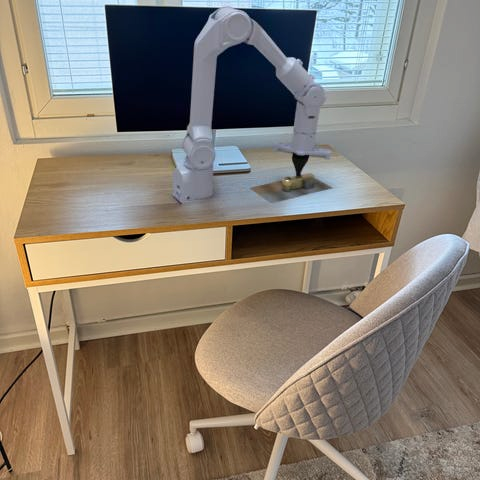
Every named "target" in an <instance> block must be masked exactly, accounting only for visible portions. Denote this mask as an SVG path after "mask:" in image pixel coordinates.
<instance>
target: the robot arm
mask: <svg viewBox="0 0 480 480" xmlns="http://www.w3.org/2000/svg"><path fill="white" fill-rule="evenodd" d="M241 43H245V44H247V45H250V46H251V45H252V46H254V48H256V49H257V50H258V51H259V52H260V54H262V55H263V56H264V57H265V58H266V59H267V60H268V62H270V63H271V64H272V65H273V66H274V67H275V76H276V77H277V79H278V80H279V81H280V82H281V83H282V85H284V86H285V87H286V88H287V90H289V92H291V94H292V95H293V97H294V99H295V100H297V101H296V108H295V114H294V115H295V117H294V124H293V131H292V140H291V142H287V143H286V142H275V143H274V144H273V153H286V154H292V155H291V161H292V164H293V167H294V170H295V176H298V175H302V171H303V169H304V168H305V165H306V164H307V163H308V161H309V160H310V157H312V158H313V157H314V158H319V159H325V161H326V160H327V161H329V160H330V159H331V154H332V150H330V149H325V148H322V147H318V146H315V142H316V137H317V128H318V122H319V115H320V110H321V108H322V106H323V105H324V104H325V102H326V101H327V96H326V93H325V89H324V88H323V86H322V85H321V84H319V83H317V82H315V78H316V77H315V76H314V74H309V72H308V71H307V70H306V69H305V68H304V67H303V64H304V63H303V61H302V60H301V59H299V58H297V59H296V58H295V57H293V56H292V57H287V55H285V54H284V53H283V51H282V50H281V49H280V48H279V47H278V46H277V44H276V43H275V42H274V40H273V39H272V38H271V37H270V36H269V35H268V34H267V32H266V31H265V30H264V29H263V27H262V26H261V25H260V24H259V23H258V22H256V21H255V20H254V19H252V18H251V17H250V16H249V14H247V12H246V11H243V10H240V9H236V8H234V7H232V6H228V5H225V6H221V7H219V8H218V9H216V10H215V11H214V12H213V13H211V14H210V15H209V17H208V20H207V22H206V23H205V25H204V26H203V28H202V30H201V31H200V33H199V34H198V35H197V37H196V39H195V41H194V46H193V62H192V78H191V79H192V81H191V98H190V99H191V100H190V114H189V123H188V125H187V127H186V133H185V136H184V138H183V139H182V144H181V145H182V147H181V148H182V149H183V151H184V153H185V154H186V156H185V157H184V160H183V163H182V164H181V165H180V166H177V167H175V168H174V169H173V173H172V178H173V179H172V183H173V188H172V189H173V193H172V196H173V197H174V198H175V199H176V200H177V201H179V203H181V204H184V202H188V201H192V200H201V199H207V198H209V197H212V195H213V194H214V192H213V191H214V162H215V159H216V151H215V149H214V145H213V141H214V138H213V132H212V131H213V130H212V121H213V109H214V108H213V107H214V98H215V97H214V96H215V93H214V92H215V84H216V74H217V73H216V72H217V71H216V70H217V61H218V60H217V58H218V56H219V55H220V54H222V53H224V52H225V50H227V49H228V48H231V47H233V46H236V45H239V44H241Z"/></svg>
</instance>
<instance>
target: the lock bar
mask: <svg viewBox="0 0 480 480" xmlns="http://www.w3.org/2000/svg"><path fill="white" fill-rule="evenodd" d="M310 178H315V174H313V173H312V172H310V173H309V172H308V173H304V174H301V175H298V176H296V175H294V176H284V177H282V180H281V181H282V190H284V191H291V190H292V189H297V188H301V187H303V183H304V180H306V179H310Z"/></svg>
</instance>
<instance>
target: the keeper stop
mask: <svg viewBox="0 0 480 480" xmlns="http://www.w3.org/2000/svg"><path fill="white" fill-rule="evenodd" d="M314 178H315V177H314ZM314 178H310V179H306V180H304V183H303V189H305V190H307V189H311V188H314V185H315V179H314Z"/></svg>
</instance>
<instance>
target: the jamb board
mask: <svg viewBox="0 0 480 480" xmlns="http://www.w3.org/2000/svg"><path fill="white" fill-rule="evenodd" d="M314 179H315V185H314V188H311V189H307V190H305V189H303V187H301V188H297V189H292V190H291V191H284V190H282V181H283V180H279V181H274V182H271V183H270V182H269V183H265V184H261V185H256V186H252V187H249V189H250V190H251V191H253V192H254V193H255V194H256V195H259V196H260V197H262V199H265V200H266V201H267V202H269V203H270V204H275V203H278V202H282V201H286V200H290V199H295V198H299V197H302V196H308V195H310V194H314V193H315V194H316V193H319V192H322V191H326V190H331V189H333V187H332V186H331V185H328V184H327V183H324V182H323V181H322V180H319V179H318V178H316V177H314Z"/></svg>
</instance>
